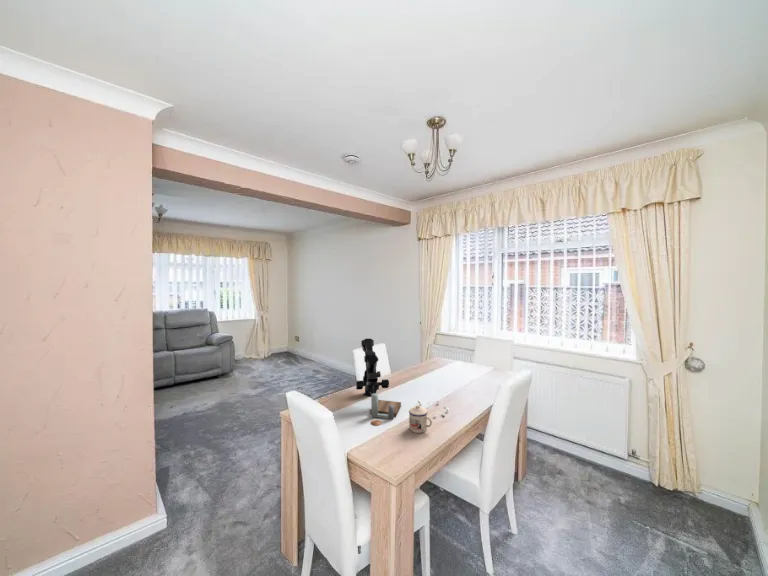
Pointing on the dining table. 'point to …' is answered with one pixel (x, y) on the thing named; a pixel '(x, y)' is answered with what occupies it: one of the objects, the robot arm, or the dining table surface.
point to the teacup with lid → (418, 419)
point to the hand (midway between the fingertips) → (373, 398)
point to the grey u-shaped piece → (375, 408)
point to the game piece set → (437, 404)
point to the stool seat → (386, 409)
